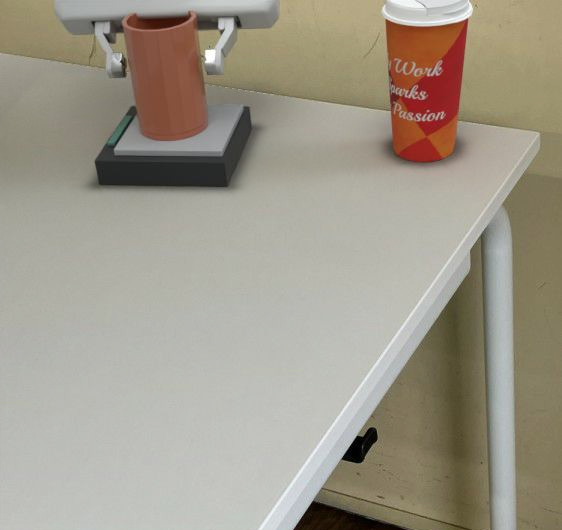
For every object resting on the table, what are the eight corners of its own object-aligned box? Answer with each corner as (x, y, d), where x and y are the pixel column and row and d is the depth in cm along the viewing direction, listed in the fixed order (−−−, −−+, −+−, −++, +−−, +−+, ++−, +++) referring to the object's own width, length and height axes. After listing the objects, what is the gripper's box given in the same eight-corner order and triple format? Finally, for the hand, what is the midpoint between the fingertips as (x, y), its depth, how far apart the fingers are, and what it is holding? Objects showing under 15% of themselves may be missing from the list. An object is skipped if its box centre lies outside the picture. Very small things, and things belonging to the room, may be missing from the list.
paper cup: (364, 150, 94) (362, -3, 85) (420, 123, 97) (423, -26, 89) (428, 176, 89) (432, 16, 80) (484, 146, 93) (494, -9, 84)
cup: (131, 140, 92) (112, 31, 85) (150, 111, 97) (133, 6, 90) (199, 141, 91) (185, 30, 84) (214, 112, 95) (202, 5, 89)
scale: (98, 184, 92) (92, 154, 90) (134, 128, 101) (130, 99, 99) (227, 186, 90) (223, 155, 88) (252, 129, 99) (249, 99, 97)
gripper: (47, -86, 90) (40, 62, 88) (275, -98, 87) (272, 55, 86) (70, -49, 96) (63, 91, 94) (283, -58, 93) (280, 85, 92)
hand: (164, 74), depth 90 cm, fingers open, 7 cm apart
